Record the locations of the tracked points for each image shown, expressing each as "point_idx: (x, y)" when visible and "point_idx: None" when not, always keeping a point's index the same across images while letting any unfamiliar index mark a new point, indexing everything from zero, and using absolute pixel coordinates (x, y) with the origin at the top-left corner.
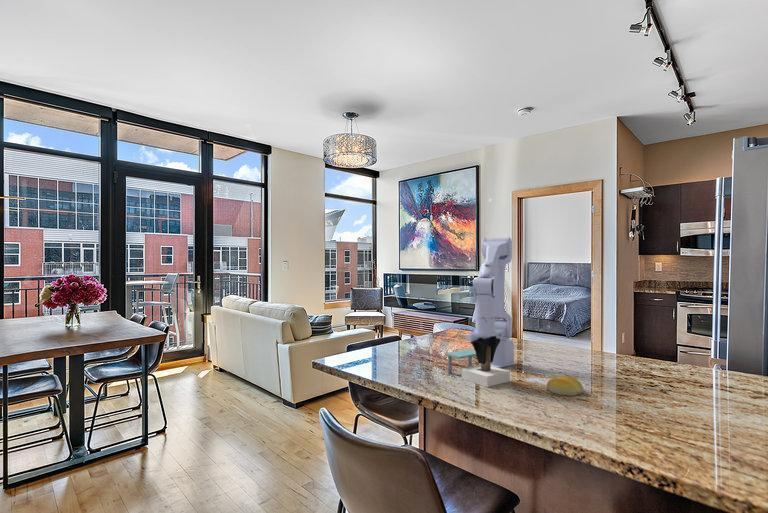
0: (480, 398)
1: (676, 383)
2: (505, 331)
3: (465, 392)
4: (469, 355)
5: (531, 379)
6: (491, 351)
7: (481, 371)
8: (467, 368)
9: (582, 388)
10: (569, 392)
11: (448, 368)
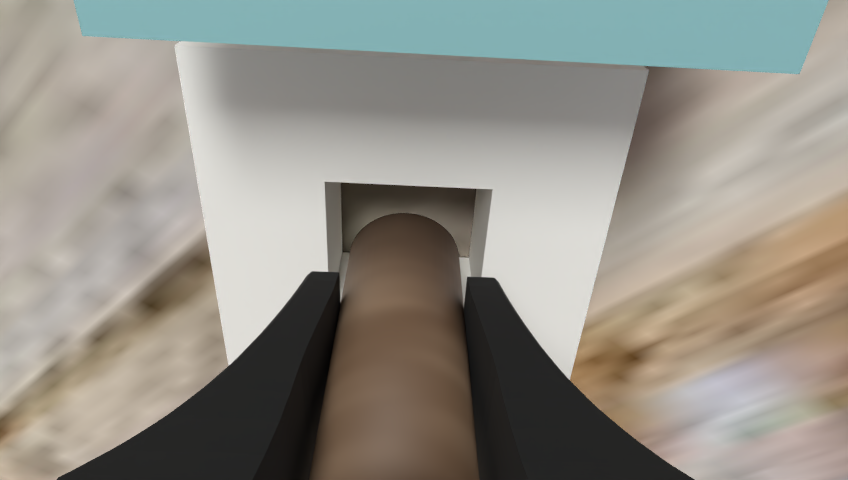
0: (48, 415)
1: None
2: None
3: (7, 301)
4: (381, 47)
5: (716, 390)
6: (481, 467)
7: (317, 266)
8: (259, 86)
9: None
10: None
11: None
